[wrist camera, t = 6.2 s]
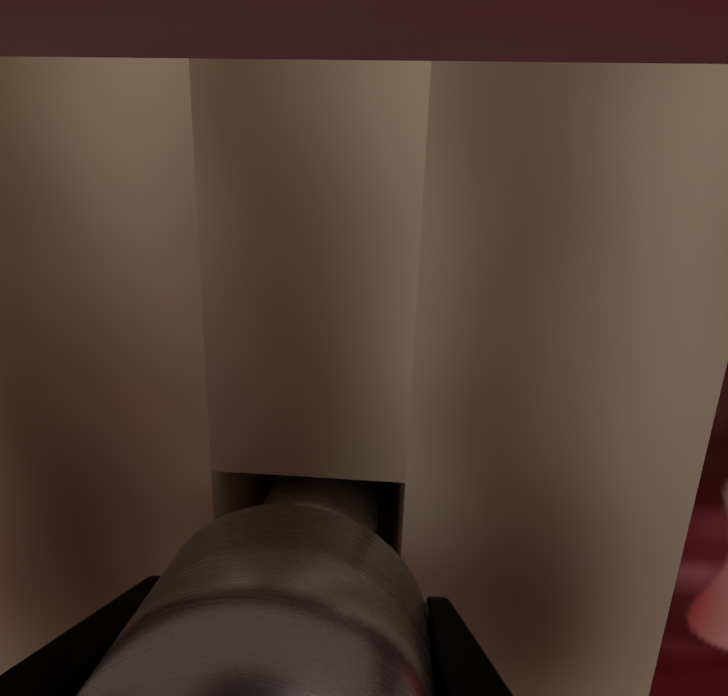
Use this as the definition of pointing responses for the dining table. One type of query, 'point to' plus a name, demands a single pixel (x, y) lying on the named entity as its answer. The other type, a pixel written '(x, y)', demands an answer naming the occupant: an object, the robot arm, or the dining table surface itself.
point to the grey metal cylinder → (279, 606)
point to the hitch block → (367, 330)
